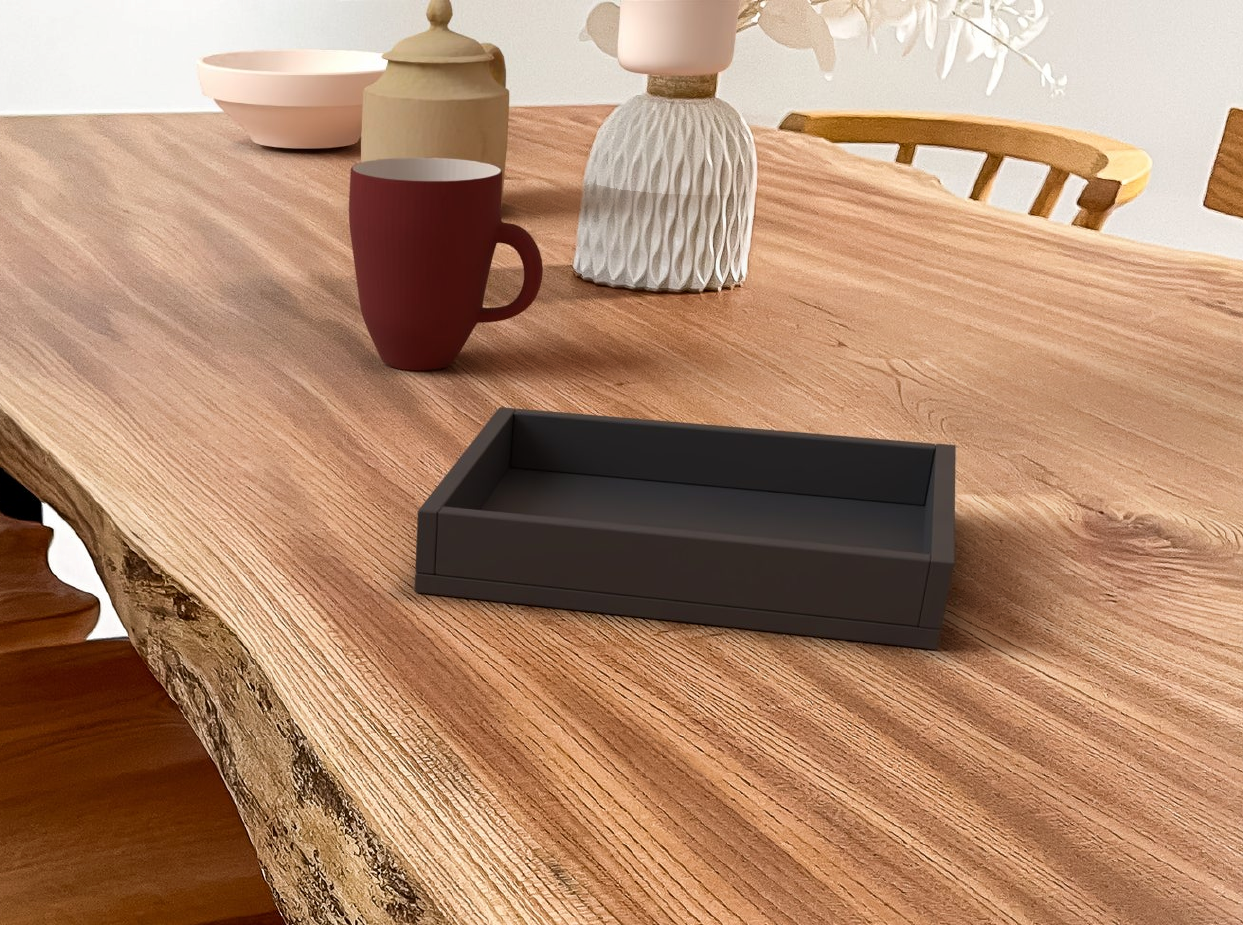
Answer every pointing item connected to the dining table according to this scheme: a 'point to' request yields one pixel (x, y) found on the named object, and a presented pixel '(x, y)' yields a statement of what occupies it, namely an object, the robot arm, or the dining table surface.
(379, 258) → the mug
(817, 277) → the dining table surface
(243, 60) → the bowl
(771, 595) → the tray
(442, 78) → the sugar bowl
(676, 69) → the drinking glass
